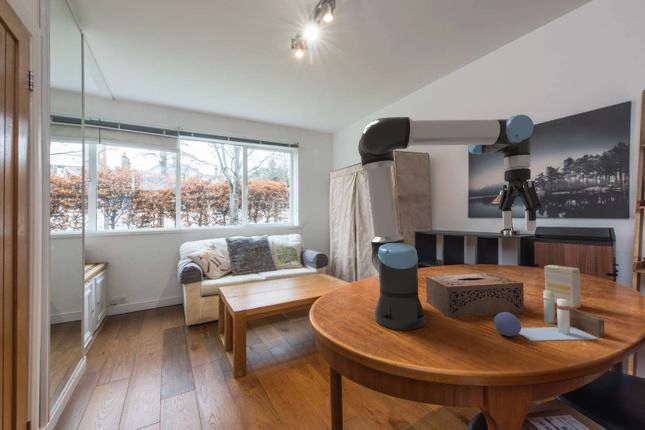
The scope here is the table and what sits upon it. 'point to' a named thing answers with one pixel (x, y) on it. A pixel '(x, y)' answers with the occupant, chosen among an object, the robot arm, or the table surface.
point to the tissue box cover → (474, 294)
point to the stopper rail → (585, 321)
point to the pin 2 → (563, 316)
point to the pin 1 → (549, 306)
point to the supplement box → (564, 284)
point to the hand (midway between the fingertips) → (518, 229)
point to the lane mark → (553, 334)
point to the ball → (507, 324)
